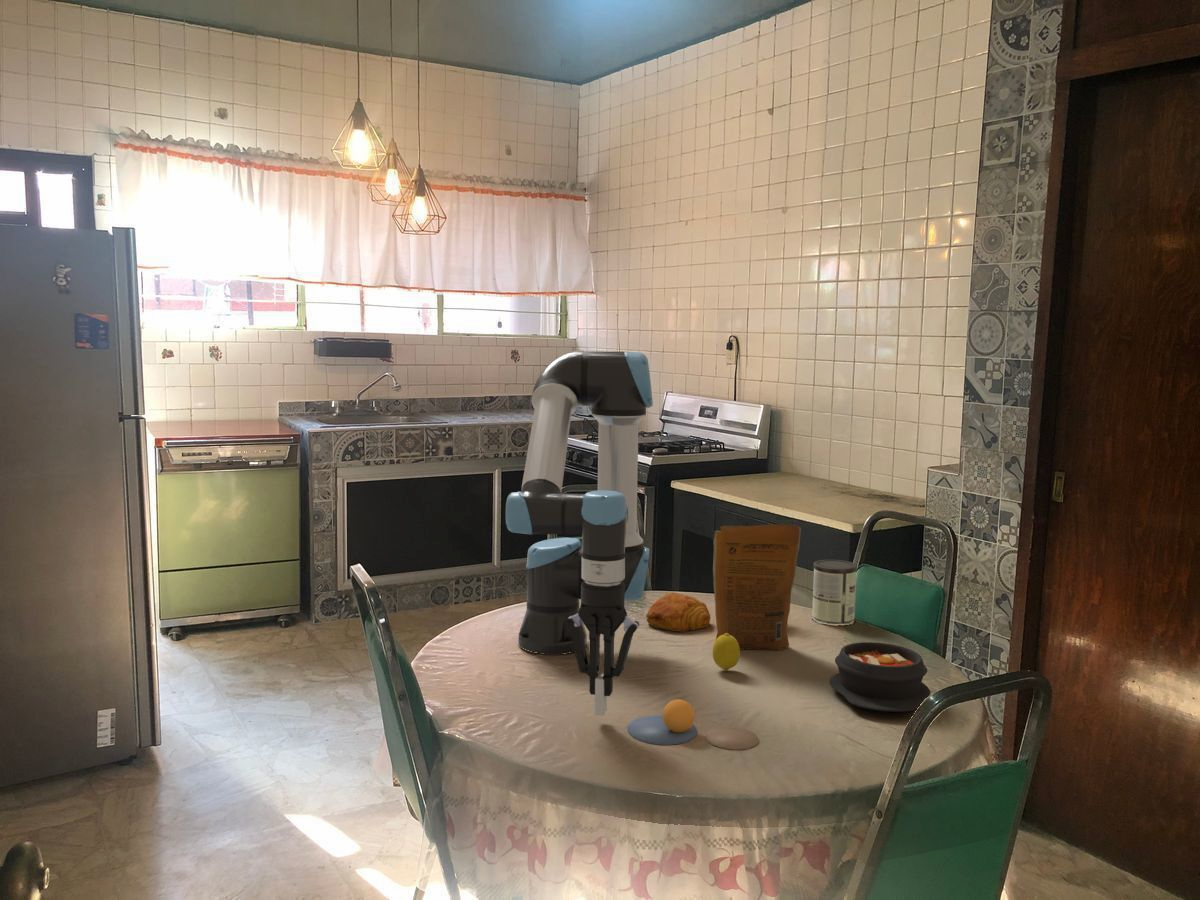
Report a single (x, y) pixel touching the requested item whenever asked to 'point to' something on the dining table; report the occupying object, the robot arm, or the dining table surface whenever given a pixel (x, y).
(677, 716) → the ball
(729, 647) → the lemon
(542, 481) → the robot arm
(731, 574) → the pancake mix bag
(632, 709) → the dining table surface
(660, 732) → the disc
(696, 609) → the croissant
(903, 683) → the casserole
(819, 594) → the coffee can
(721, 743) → the disc
